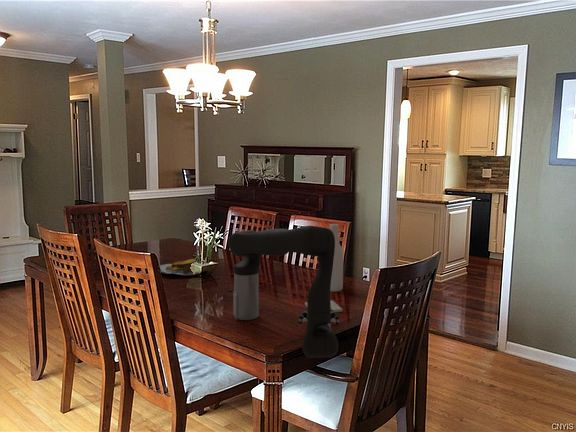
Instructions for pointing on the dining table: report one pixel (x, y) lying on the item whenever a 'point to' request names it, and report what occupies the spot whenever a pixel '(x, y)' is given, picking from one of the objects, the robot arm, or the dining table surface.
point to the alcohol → (337, 262)
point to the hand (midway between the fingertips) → (318, 311)
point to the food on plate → (178, 267)
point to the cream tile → (333, 306)
